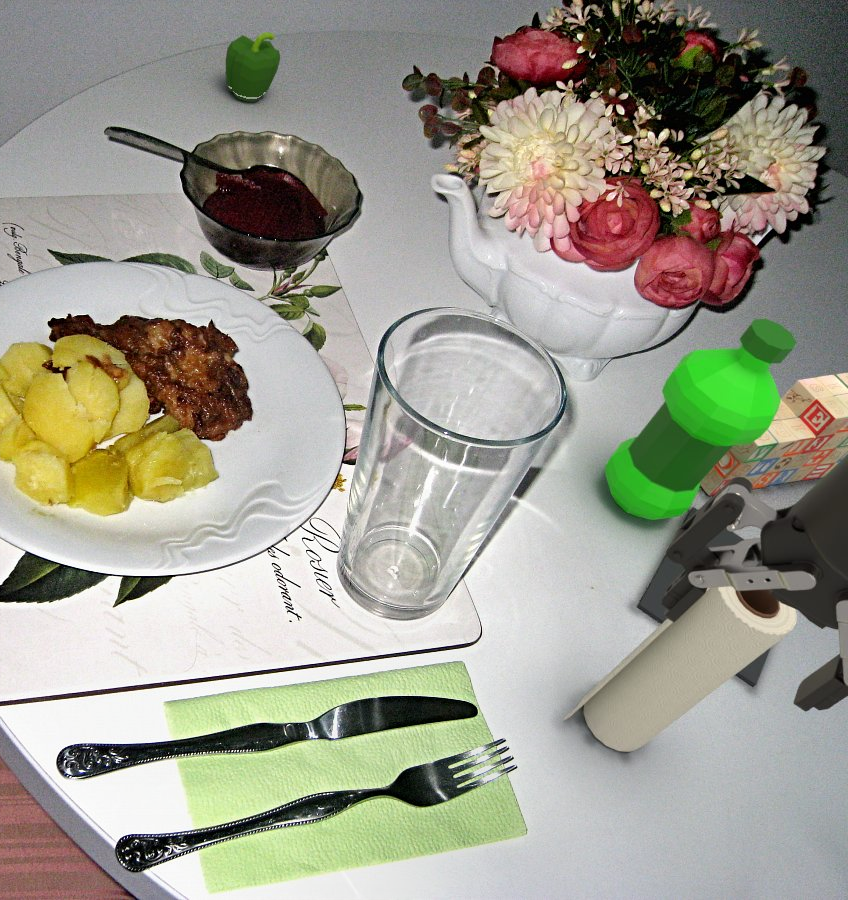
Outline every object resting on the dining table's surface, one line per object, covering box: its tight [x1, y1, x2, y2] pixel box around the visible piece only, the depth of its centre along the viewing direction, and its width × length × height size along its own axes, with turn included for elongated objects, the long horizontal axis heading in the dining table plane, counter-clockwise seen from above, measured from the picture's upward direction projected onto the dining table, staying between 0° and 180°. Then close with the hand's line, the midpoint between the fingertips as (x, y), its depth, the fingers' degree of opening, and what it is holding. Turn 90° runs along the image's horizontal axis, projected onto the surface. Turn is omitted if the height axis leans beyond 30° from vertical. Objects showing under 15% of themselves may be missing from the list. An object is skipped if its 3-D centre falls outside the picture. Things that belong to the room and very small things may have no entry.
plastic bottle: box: [604, 318, 798, 521], centre depth 92 cm, size 10×10×25 cm
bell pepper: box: [225, 32, 281, 103], centre depth 140 cm, size 8×8×10 cm
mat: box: [637, 506, 772, 688], centre depth 94 cm, size 13×18×1 cm
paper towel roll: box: [562, 586, 798, 753], centre depth 73 cm, size 7×6×21 cm
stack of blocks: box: [700, 372, 848, 497], centre depth 104 cm, size 21×6×12 cm, turn 108°
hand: (735, 653), depth 55 cm, fingers open, 8 cm apart
